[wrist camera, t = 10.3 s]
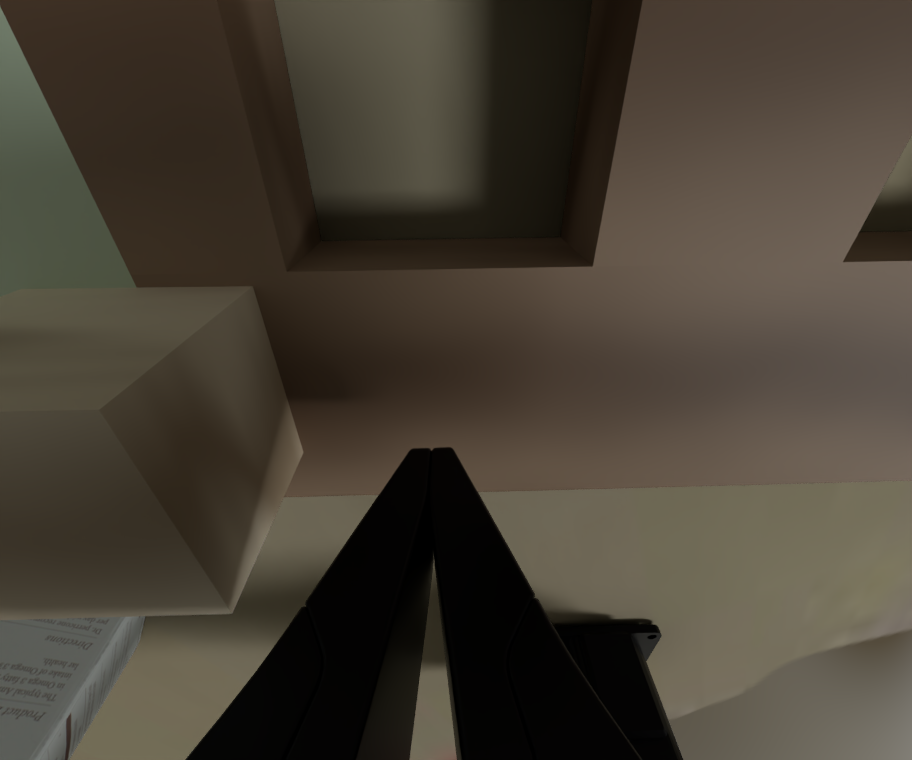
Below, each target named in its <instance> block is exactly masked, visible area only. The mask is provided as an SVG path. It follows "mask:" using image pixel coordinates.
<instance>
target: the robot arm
mask: <svg viewBox="0 0 912 760" xmlns="http://www.w3.org/2000/svg"><path fill="white" fill-rule="evenodd" d="M433 561H435V572H436V581H437V590H438V598H439V607H440V616H441V624H442V633H443V642H444V651H445V659H446V668H447V677H448V686H449V694H450V703H451V712H452V721H453V729H454V738H455V747H456V755H457V760H683V758H682V755H681V752H680V750H679V747H678V745H677V742H676V739H675V736H674V734H673V731H672V729H671V726H670V723H669V721H668V718H667V715H666V713H665V710H664V708H663V705H662V702H661V700H660V697H659V694H658V692H657V689H656V686H655V684H654V681H653V679H652V676H651V673H650V671H649V668H648V665H647V663H646V661H647V659H648V657H649V656H650V654H651V653H652V651H653V649H654V648H655V646H656V644H657V643H658V641H659V640H660V638H661V633H660V630H659V628H658V626H657V625H620V626H589V627H557V628H554V626H553V625H552V623H551V621H550V620H549V618H548V616H547V614H546V613H545V611H544V609H543V607H542V605H541V604H540V602H539V600H538V599H537V598H534V597H535V594H534V592H533V590H532V588H531V586H530V584H529V583H528V581H527V579H526V577H525V576H524V574H523V572H522V570H521V568H520V567H519V565H518V563H517V561H516V560H515V558H514V556H513V554H512V552H511V551H510V549H509V547H508V545H507V543H506V542H505V540H504V538H503V536H502V535H501V533H500V531H499V529H498V527H497V526H496V524H495V522H494V520H493V518H492V517H491V515H490V513H489V511H488V510H487V508H486V506H485V504H484V502H483V501H482V499H481V497H480V495H479V494H478V492H477V490H476V488H475V486H474V485H473V483H472V481H471V479H470V477H469V476H468V474H467V472H466V470H465V469H464V467H463V465H462V463H461V461H460V460H459V458H458V456H457V454H456V452H455V451H454V449H453V448H451V447H437V448H433V450H432V451H431V449H430V448H413V449H411V450H410V451H409V452H408V453H407V455H406V456H405V458H404V459H403V461H402V462H401V463H400V465H399V466H398V468H397V469H396V471H395V472H394V474H393V475H392V477H391V478H390V480H389V481H388V482H387V484H386V485H385V487H384V488H383V490H382V491H381V493H380V494H379V496H378V497H377V498H376V500H375V501H374V503H373V504H372V506H371V507H370V509H369V510H368V512H367V513H366V514H365V516H364V517H363V519H362V520H361V522H360V523H359V525H358V526H357V528H356V529H355V530H354V532H353V533H352V535H351V536H350V538H349V539H348V541H347V542H346V544H345V545H344V547H343V548H342V549H341V551H340V552H339V554H338V555H337V557H336V558H335V560H334V561H333V563H332V564H331V565H330V567H329V568H328V570H327V571H326V573H325V574H324V576H323V577H322V579H321V580H320V581H319V583H318V584H317V586H316V587H315V589H314V590H313V592H312V593H311V595H310V596H309V597H308V599H307V600H306V603H305V604H306V607H302V608H301V609H300V610H299V612H298V613H297V615H296V616H295V617H294V619H293V620H292V622H291V623H290V625H289V626H288V628H287V629H286V631H285V632H284V634H283V635H282V636H281V638H280V639H279V640H278V642H277V643H276V645H275V646H274V647H273V649H272V650H271V652H270V653H269V654H268V656H267V657H266V658H265V660H264V661H263V663H262V664H261V665H260V667H259V668H258V670H257V671H256V672H255V673H254V675H253V676H252V677H251V679H250V680H249V681H248V682H247V684H246V685H245V686H244V687H243V689H242V690H241V691H240V692H239V694H238V695H237V696H236V698H235V699H234V700H233V701H232V703H231V704H230V705H229V706H228V708H227V709H226V710H225V712H224V713H223V714H222V715H221V717H220V718H219V719H218V720H217V721H216V723H215V724H214V725H213V726H212V728H211V729H210V730H209V731H208V733H207V734H206V735H205V736H204V737H203V739H202V740H201V741H200V742H199V744H198V745H197V746H196V747H195V748H194V750H193V751H192V752H191V753H190V755H189V756H188V757H187V758H186V759H185V760H409V759H410V750H411V742H412V734H413V726H414V718H415V710H416V702H417V694H418V686H419V677H420V669H421V661H422V653H423V645H424V637H425V629H426V621H427V613H428V604H429V596H430V588H431V580H432V571H433Z"/></svg>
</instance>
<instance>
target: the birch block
mask: <svg viewBox="0 0 912 760" xmlns="http://www.w3.org/2000/svg"><path fill="white" fill-rule="evenodd" d="M302 455H303V449H302V446H301V443H300V439H299V436H298V433H297V429H296V426H295V423H294V420H293V416H292V413H291V410H290V407H289V403H288V400H287V397H286V393H285V390H284V387H283V384H282V380H281V377H280V374H279V371H278V367H277V364H276V361H275V357H274V354H273V351H272V348H271V344H270V341H269V338H268V335H267V331H266V328H265V325H264V321H263V318H262V315H261V312H260V308H259V305H258V302H257V299H256V295H255V292H254V289H253V286H229V287H144V288H59V289H20V290H17V291H14V292H12V293H9V294H6V295H3V296H1V297H0V620H26V619H62V618H99V617H135V616H171V615H208V614H232V613H233V611H234V609H235V607H236V604H237V602H238V600H239V598H240V595H241V593H242V591H243V588H244V586H245V584H246V582H247V579H248V577H249V575H250V573H251V570H252V568H253V566H254V563H255V561H256V559H257V557H258V554H259V552H260V550H261V548H262V545H263V543H264V541H265V539H266V536H267V534H268V532H269V529H270V527H271V525H272V523H273V520H274V518H275V516H276V514H277V511H278V509H279V507H280V505H281V502H282V500H283V498H284V495H285V493H286V491H287V489H288V486H289V484H290V482H291V480H292V477H293V475H294V473H295V470H296V468H297V466H298V464H299V461H300V459H301V457H302Z"/></svg>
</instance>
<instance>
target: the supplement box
mask: <svg viewBox="0 0 912 760" xmlns="http://www.w3.org/2000/svg"><path fill="white" fill-rule="evenodd" d="M144 620H145V616H135V617H99V618H62V619H26V620H0V760H69V759H70V758H71V756H72V754H73V753H74V751H75V749H76V748H77V746H78V744H79V743H80V741H81V740H82V738H83V736H84V734H85V733H86V731H87V729H88V728H89V726H90V724H91V723H92V721H93V719H94V718H95V716H96V714H97V713H98V711H99V709H100V708H101V706H102V704H103V703H104V701H105V699H106V698H107V696H108V695H109V693H110V691H111V690H112V688H113V686H114V685H115V683H116V681H117V680H118V678H119V676H120V675H121V673H122V671H123V670H124V668H125V666H126V664H127V663H128V661H129V659H130V658H131V656H132V654H133V653H134V651H135V649H136V647H137V645H138V643H139V642H140V637H141V632H142V629H143V625H144Z"/></svg>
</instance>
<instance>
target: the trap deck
mask: <svg viewBox="0 0 912 760" xmlns="http://www.w3.org/2000/svg"><path fill="white" fill-rule="evenodd" d="M911 136H912V0H592V7H591V15H590V22H589V29H588V37H587V44H586V52H585V59H584V67H583V74H582V81H581V89H580V96H579V104H578V111H577V119H576V126H575V133H574V141H573V148H572V156H571V163H570V170H569V178H568V185H567V193H566V200H565V208H564V215H563V222H562V230H561V237H535V238H475V239H415V240H355V241H321V236H320V231H319V226H318V221H317V216H316V211H315V206H314V201H313V196H312V191H311V186H310V181H309V176H308V171H307V165H306V160H305V155H304V150H303V145H302V140H301V135H300V130H299V125H298V120H297V115H296V110H295V105H294V100H293V94H292V89H291V84H290V79H289V74H288V69H287V64H286V59H285V54H284V49H283V44H282V39H281V34H280V29H279V24H278V18H277V13H276V8H275V3H274V0H0V297H1V296H3V295H6V294H9V293H12V292H14V291H17V290H20V289H59V288H144V287H229V286H253V289H254V292H255V295H256V299H257V302H258V305H259V308H260V312H261V315H262V318H263V321H264V325H265V328H266V331H267V335H268V338H269V341H270V344H271V348H272V351H273V354H274V357H275V361H276V364H277V367H278V371H279V374H280V377H281V380H282V384H283V387H284V390H285V393H286V397H287V400H288V403H289V407H290V410H291V413H292V416H293V420H294V423H295V426H296V429H297V433H298V436H299V439H300V443H301V446H302V449H303V455H302V457H301V459H300V461H299V464H298V466H297V468H296V470H295V473H294V475H293V477H292V480H291V482H290V484H289V486H288V489H287V491H286V493H285V495H284V497H310V496H348V495H379V494H380V493H381V491H382V490H383V488H384V487H385V485H386V484H387V482H388V481H389V480H390V478H391V477H392V475H393V474H394V472H395V471H396V469H397V468H398V466H399V465H400V463H401V462H402V461H403V459H404V458H405V456H406V455H407V453H408V452H409V451H410V450H411V449H413V448H430V449H431V451H432V450H433V448H437V447H451V448H453V449H454V451H455V452H456V454H457V456H458V458H459V460H460V461H461V463H462V465H463V467H464V469H465V470H466V472H467V474H468V476H469V477H470V479H471V481H472V483H473V485H474V486H475V488H476V490H477V492H499V491H536V490H574V489H612V488H650V487H687V486H725V485H763V484H801V483H839V482H876V481H912V231H896V232H859V231H860V229H861V228H862V226H863V224H864V222H865V220H866V218H867V217H868V215H869V213H870V211H871V209H872V207H873V205H874V204H875V202H876V200H877V198H878V196H879V194H880V193H881V191H882V189H883V187H884V185H885V183H886V182H887V180H888V178H889V176H890V174H891V172H892V171H893V169H894V167H895V165H896V163H897V161H898V160H899V158H900V156H901V154H902V152H903V150H904V148H905V147H906V145H907V143H908V141H909V139H910V137H911Z"/></svg>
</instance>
